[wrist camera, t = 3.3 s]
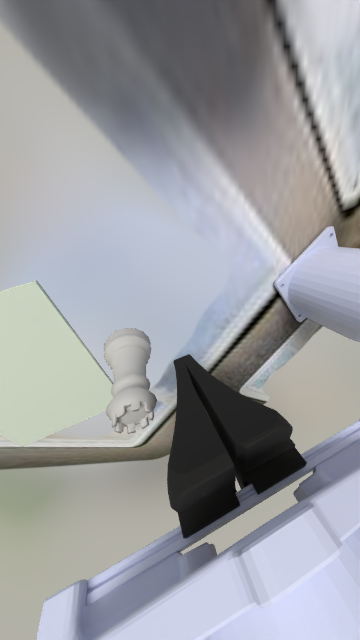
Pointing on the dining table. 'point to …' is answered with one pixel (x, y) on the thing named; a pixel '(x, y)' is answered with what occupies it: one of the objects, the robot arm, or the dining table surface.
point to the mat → (44, 369)
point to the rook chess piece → (129, 379)
